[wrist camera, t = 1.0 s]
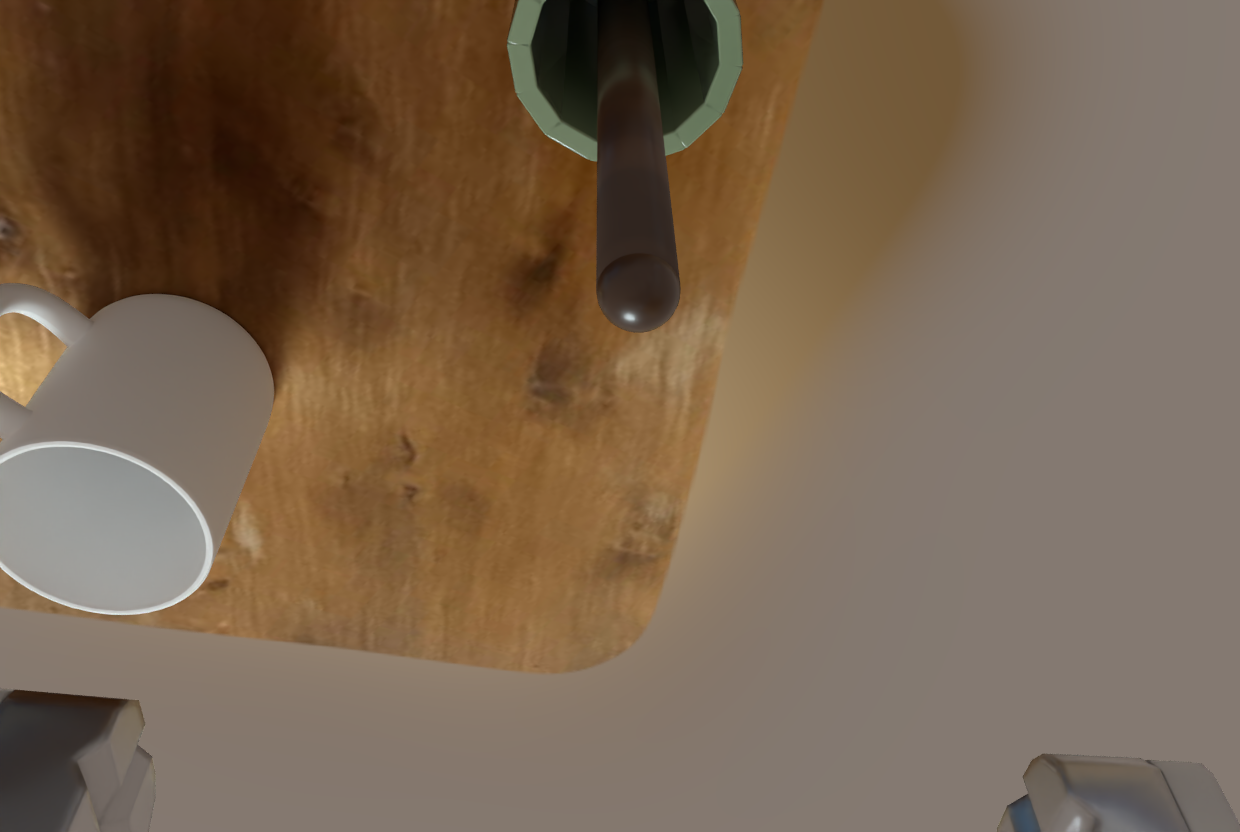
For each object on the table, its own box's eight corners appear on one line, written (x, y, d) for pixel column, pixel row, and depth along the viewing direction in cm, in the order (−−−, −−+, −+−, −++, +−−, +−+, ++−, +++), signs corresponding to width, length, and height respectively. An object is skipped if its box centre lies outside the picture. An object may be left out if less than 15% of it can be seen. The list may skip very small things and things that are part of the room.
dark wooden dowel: (602, -103, 37) (603, 242, 18) (644, -99, 37) (692, 249, 18) (595, -27, 38) (590, 370, 19) (636, -22, 38) (672, 376, 19)
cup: (188, 477, 51) (110, 646, 43) (-42, 292, 46) (-182, 447, 37) (319, 388, 49) (262, 551, 40) (92, 180, 43) (-28, 320, 35)
